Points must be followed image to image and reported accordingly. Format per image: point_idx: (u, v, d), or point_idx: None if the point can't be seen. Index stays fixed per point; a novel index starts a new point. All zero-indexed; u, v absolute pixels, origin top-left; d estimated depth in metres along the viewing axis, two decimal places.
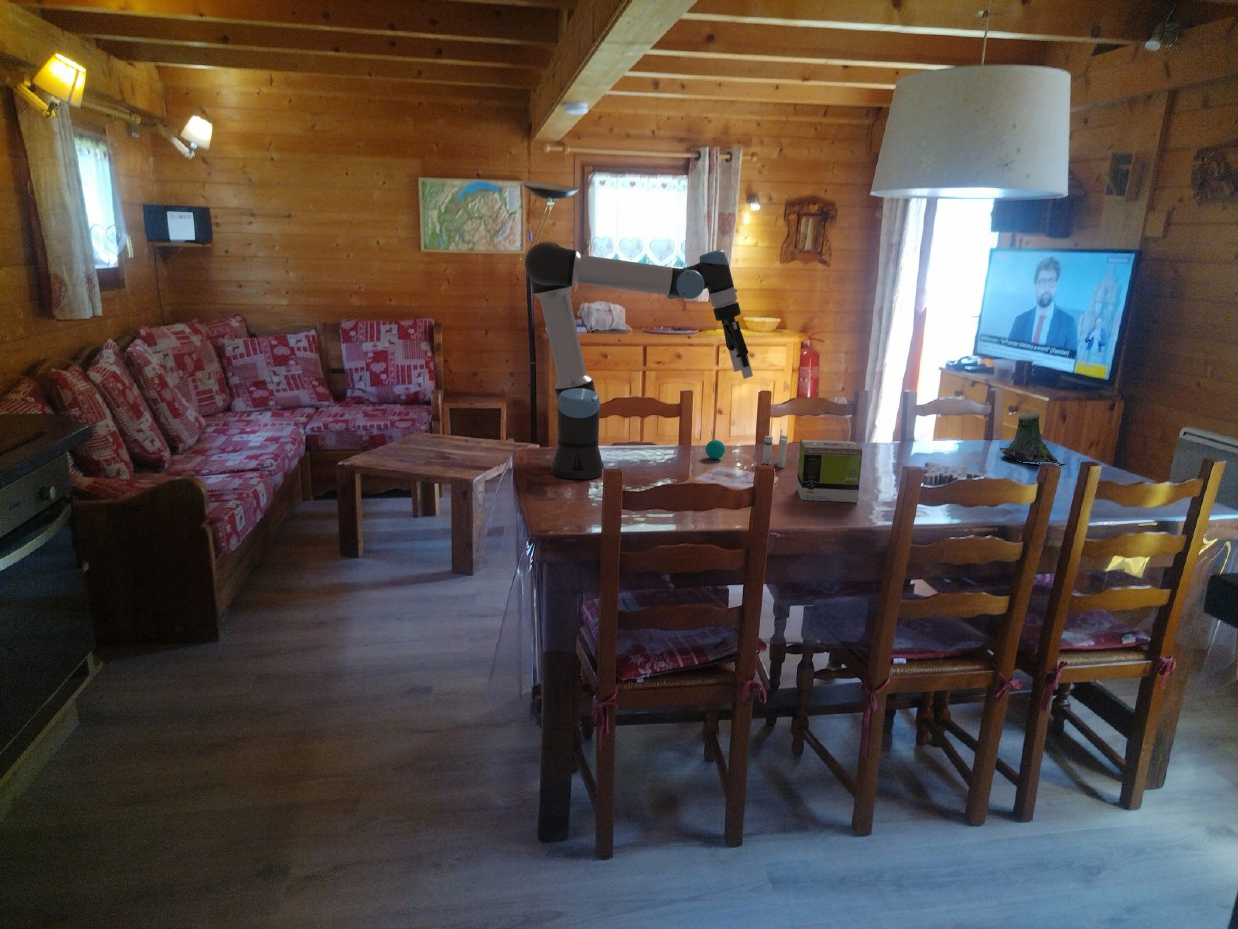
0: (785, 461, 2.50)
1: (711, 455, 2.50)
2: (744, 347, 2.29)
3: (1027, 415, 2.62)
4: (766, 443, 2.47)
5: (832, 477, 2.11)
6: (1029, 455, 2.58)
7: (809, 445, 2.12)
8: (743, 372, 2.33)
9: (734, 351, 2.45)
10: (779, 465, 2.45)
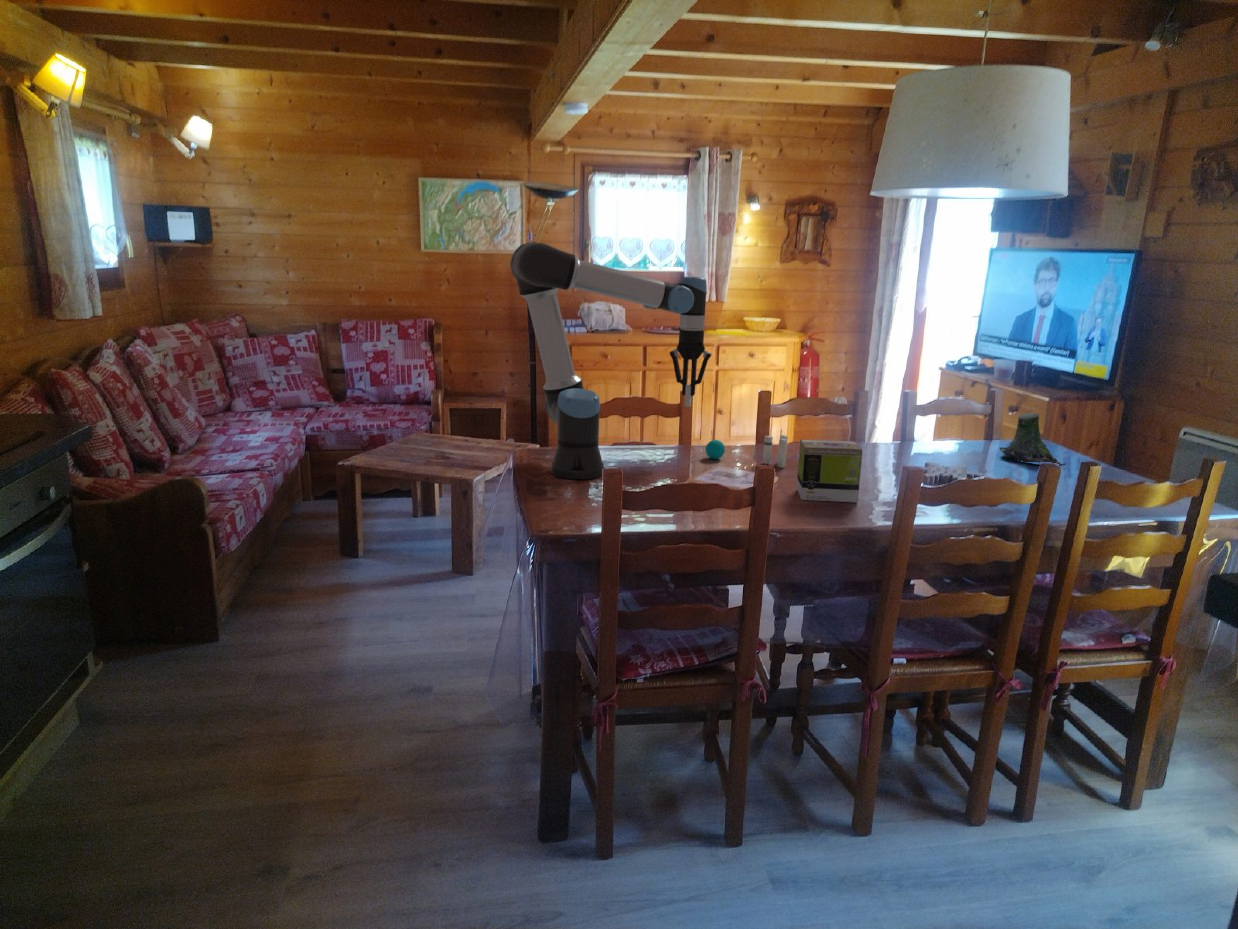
0: (785, 461, 2.50)
1: (711, 455, 2.50)
2: None
3: (1027, 415, 2.62)
4: (766, 443, 2.47)
5: (832, 477, 2.11)
6: (1028, 455, 2.58)
7: (809, 445, 2.12)
8: (690, 400, 2.49)
9: None
10: (779, 465, 2.45)
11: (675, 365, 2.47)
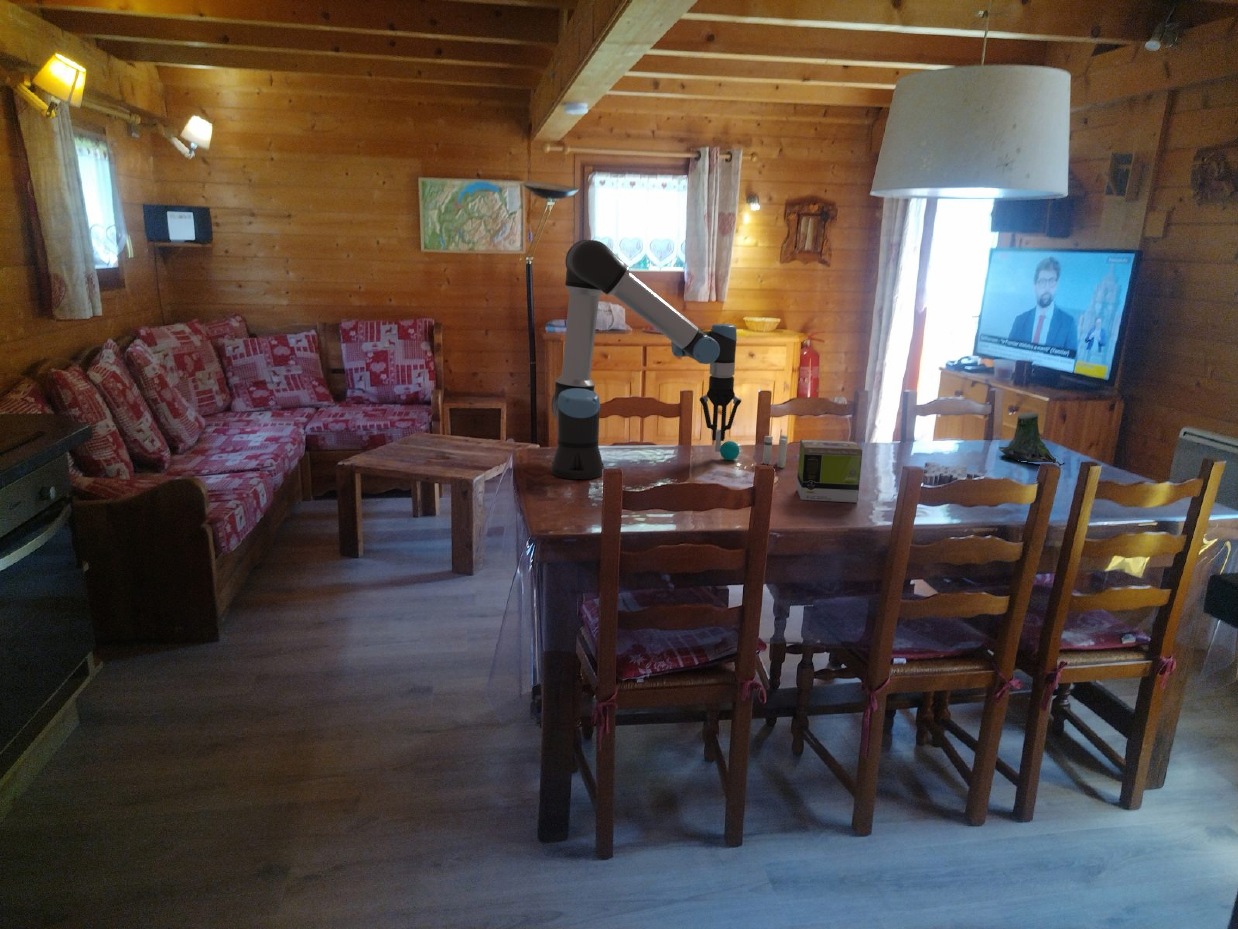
0: (785, 461, 2.50)
1: (724, 451, 2.49)
2: None
3: (1026, 414, 2.63)
4: (766, 443, 2.47)
5: (832, 477, 2.11)
6: (1027, 454, 2.59)
7: (809, 445, 2.12)
8: (720, 445, 2.51)
9: None
10: (779, 465, 2.45)
11: (705, 411, 2.49)
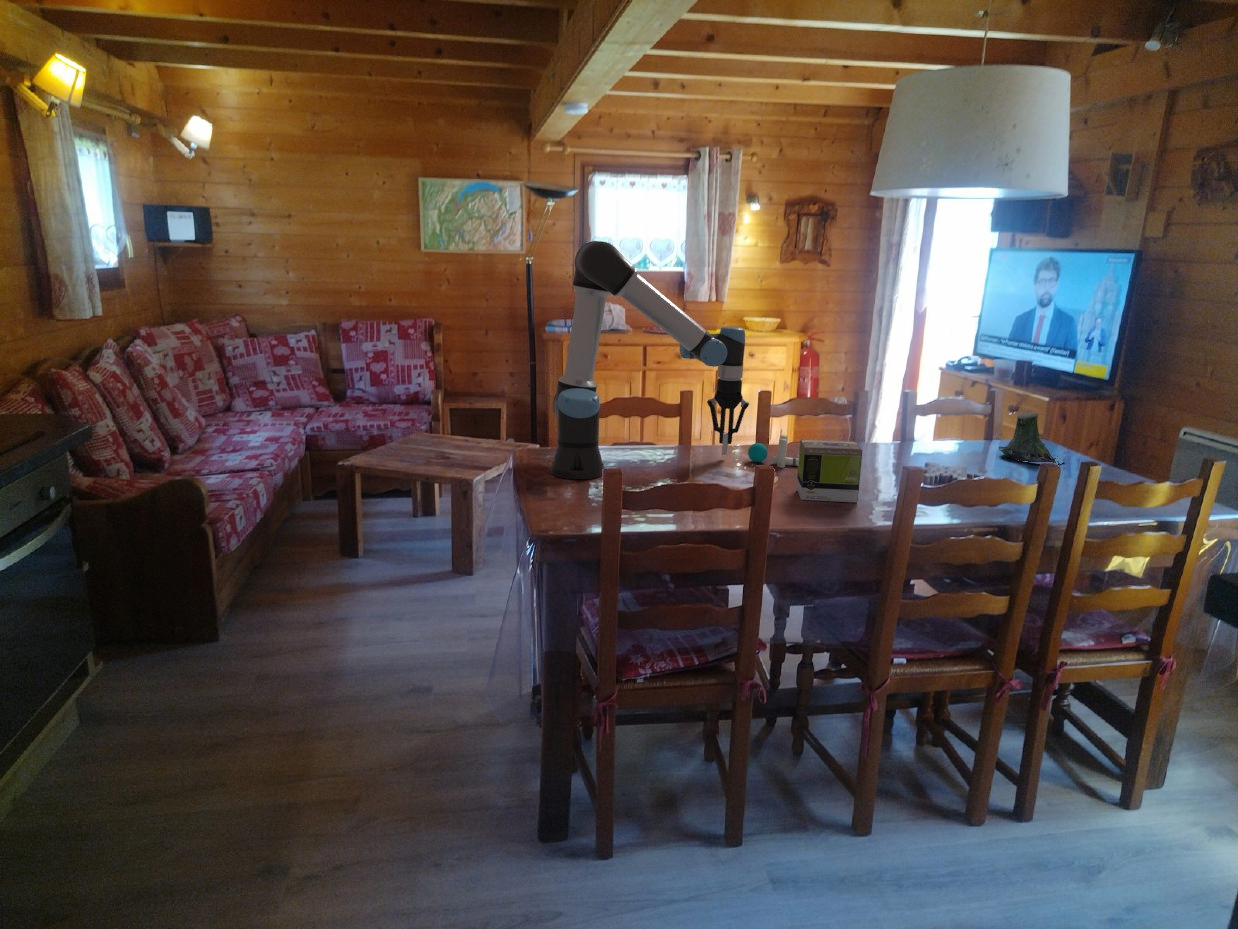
0: None
1: (762, 453, 2.47)
2: None
3: (1026, 414, 2.63)
4: (794, 461, 2.46)
5: (832, 477, 2.11)
6: (1026, 454, 2.59)
7: (809, 445, 2.12)
8: (727, 448, 2.50)
9: None
10: (779, 465, 2.45)
11: (713, 414, 2.48)
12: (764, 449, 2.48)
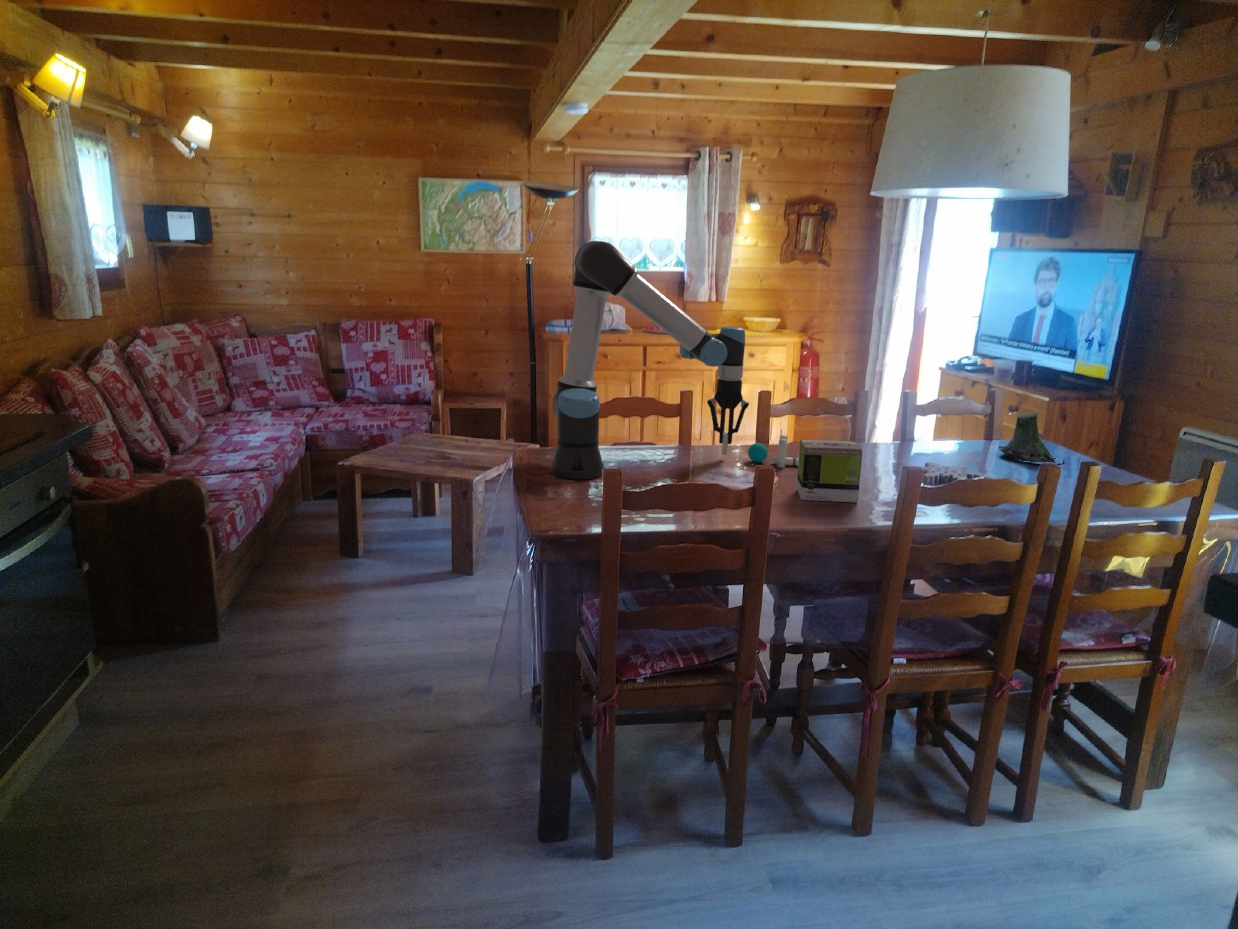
0: None
1: (762, 453, 2.47)
2: None
3: (1025, 414, 2.63)
4: (794, 461, 2.46)
5: (832, 477, 2.11)
6: (1026, 453, 2.60)
7: (809, 445, 2.12)
8: (727, 448, 2.50)
9: None
10: (779, 465, 2.45)
11: (713, 414, 2.48)
12: (764, 449, 2.48)
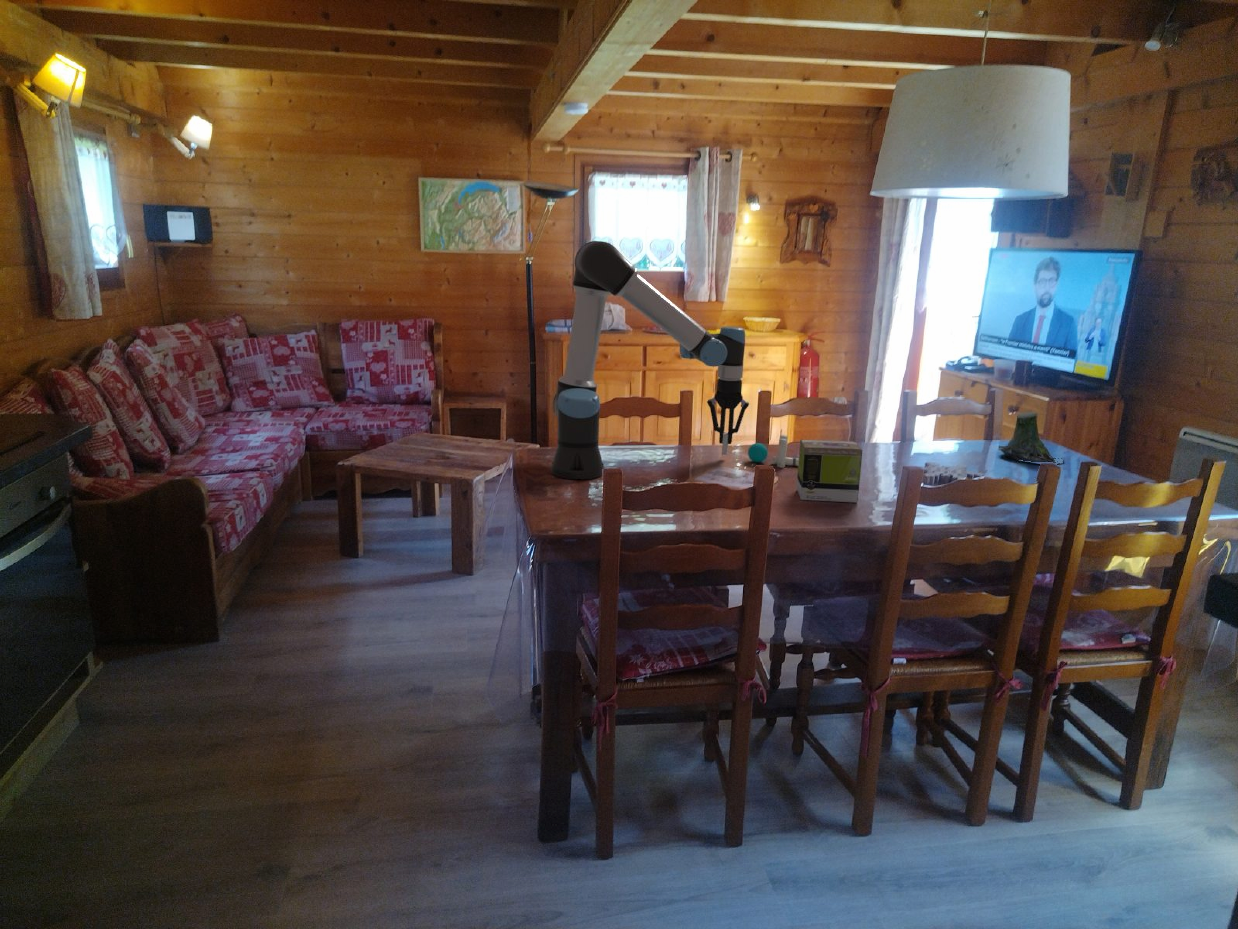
0: None
1: (762, 453, 2.47)
2: None
3: (1025, 414, 2.64)
4: (794, 461, 2.46)
5: (832, 477, 2.11)
6: (1025, 453, 2.60)
7: (809, 445, 2.12)
8: (727, 448, 2.50)
9: None
10: (779, 465, 2.45)
11: (713, 414, 2.48)
12: (764, 449, 2.48)
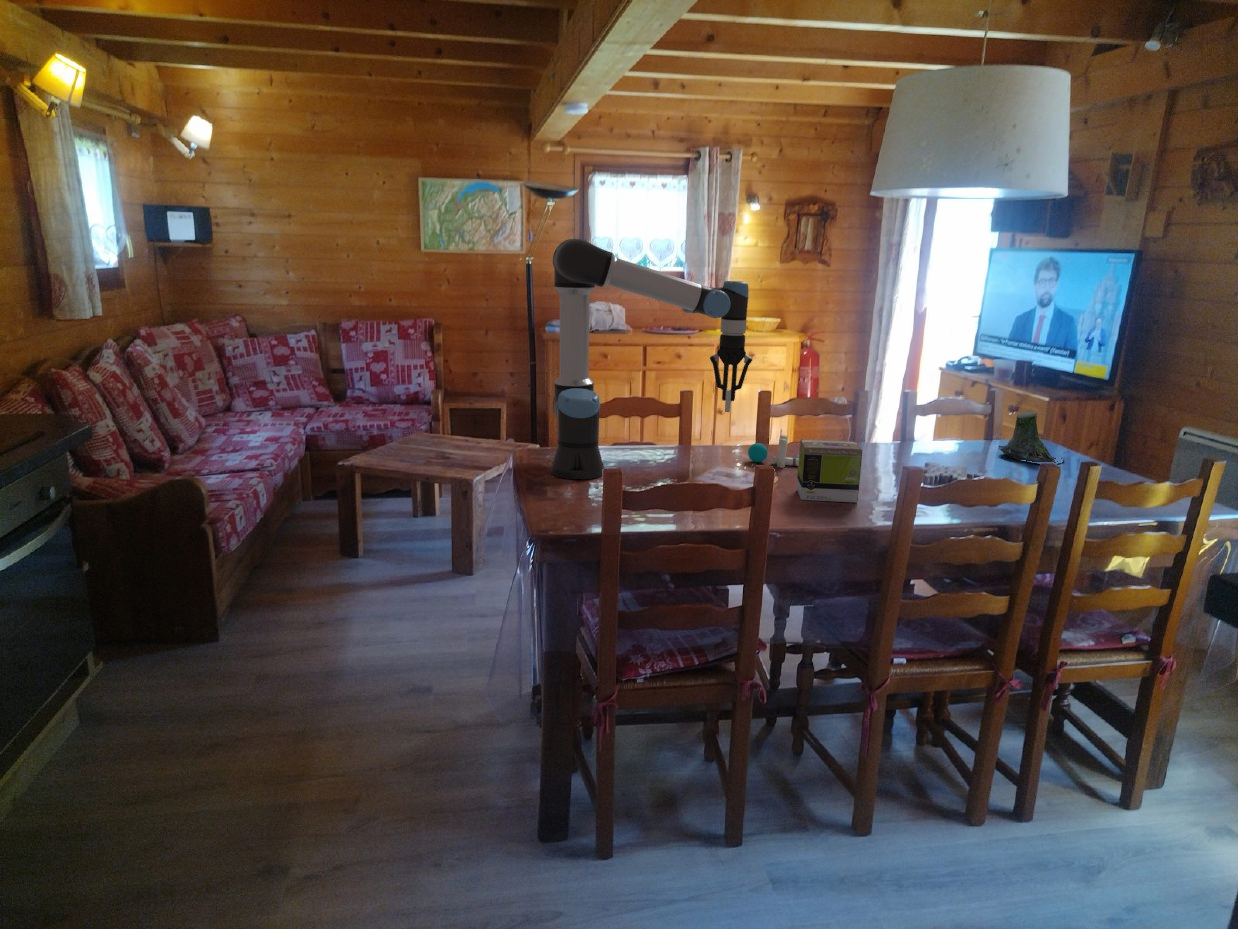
0: None
1: (762, 453, 2.47)
2: None
3: (1025, 413, 2.64)
4: (794, 461, 2.46)
5: (832, 477, 2.11)
6: (1024, 453, 2.61)
7: (809, 445, 2.12)
8: (730, 405, 2.47)
9: None
10: (779, 465, 2.45)
11: (715, 370, 2.45)
12: (764, 449, 2.48)
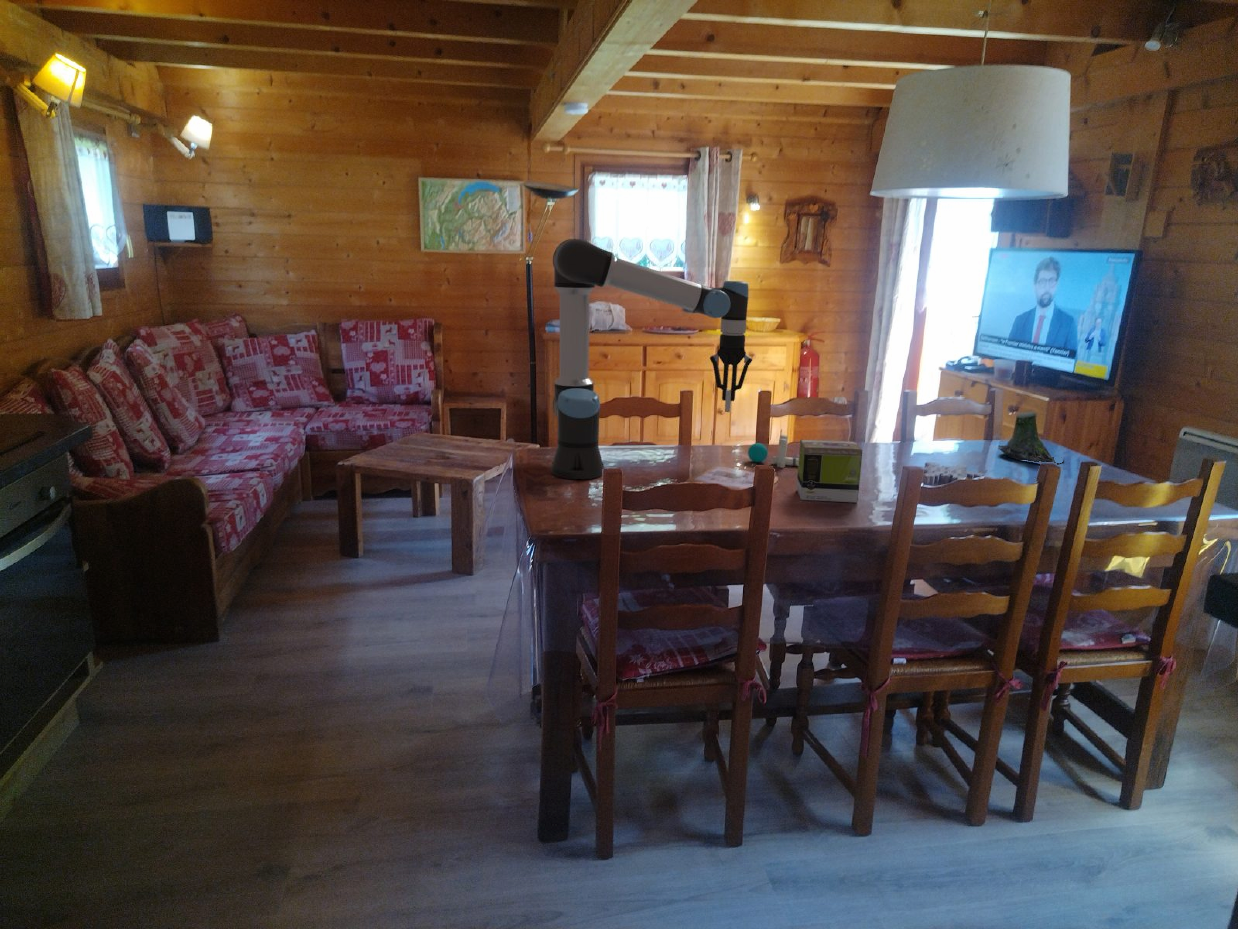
0: None
1: (762, 453, 2.47)
2: None
3: (1025, 413, 2.64)
4: (794, 461, 2.46)
5: (832, 477, 2.11)
6: (1024, 453, 2.61)
7: (809, 445, 2.12)
8: (730, 405, 2.47)
9: None
10: (779, 465, 2.45)
11: (715, 370, 2.45)
12: (764, 449, 2.48)
